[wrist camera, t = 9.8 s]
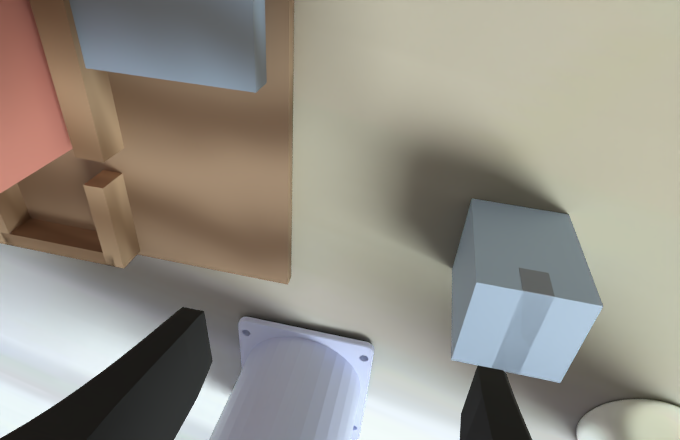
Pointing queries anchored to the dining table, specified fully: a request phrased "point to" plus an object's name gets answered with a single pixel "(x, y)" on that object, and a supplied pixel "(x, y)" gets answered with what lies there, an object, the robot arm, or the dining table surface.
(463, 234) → the pale blue patched block
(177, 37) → the jig
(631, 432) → the beer glass
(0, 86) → the salmon pink rectangular block
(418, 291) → the dining table surface
